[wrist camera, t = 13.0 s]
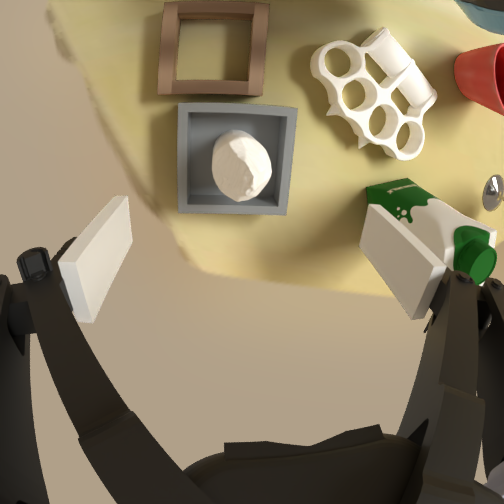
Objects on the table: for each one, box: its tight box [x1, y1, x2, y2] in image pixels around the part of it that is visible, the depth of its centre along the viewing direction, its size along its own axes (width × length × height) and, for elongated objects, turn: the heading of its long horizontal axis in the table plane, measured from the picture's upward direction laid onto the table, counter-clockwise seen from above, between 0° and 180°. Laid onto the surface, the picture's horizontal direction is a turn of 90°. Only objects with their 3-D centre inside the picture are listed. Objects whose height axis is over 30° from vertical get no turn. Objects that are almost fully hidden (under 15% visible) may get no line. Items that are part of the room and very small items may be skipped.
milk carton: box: [366, 178, 497, 286], centre depth 30 cm, size 9×9×20 cm
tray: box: [177, 102, 298, 215], centre depth 32 cm, size 12×12×4 cm
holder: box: [157, 1, 269, 96], centre depth 26 cm, size 11×11×3 cm
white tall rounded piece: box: [212, 130, 272, 202], centre depth 28 cm, size 6×12×6 cm
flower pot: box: [454, 43, 504, 116], centre depth 25 cm, size 11×11×10 cm
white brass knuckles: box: [310, 27, 437, 161], centre depth 30 cm, size 3×18×15 cm
